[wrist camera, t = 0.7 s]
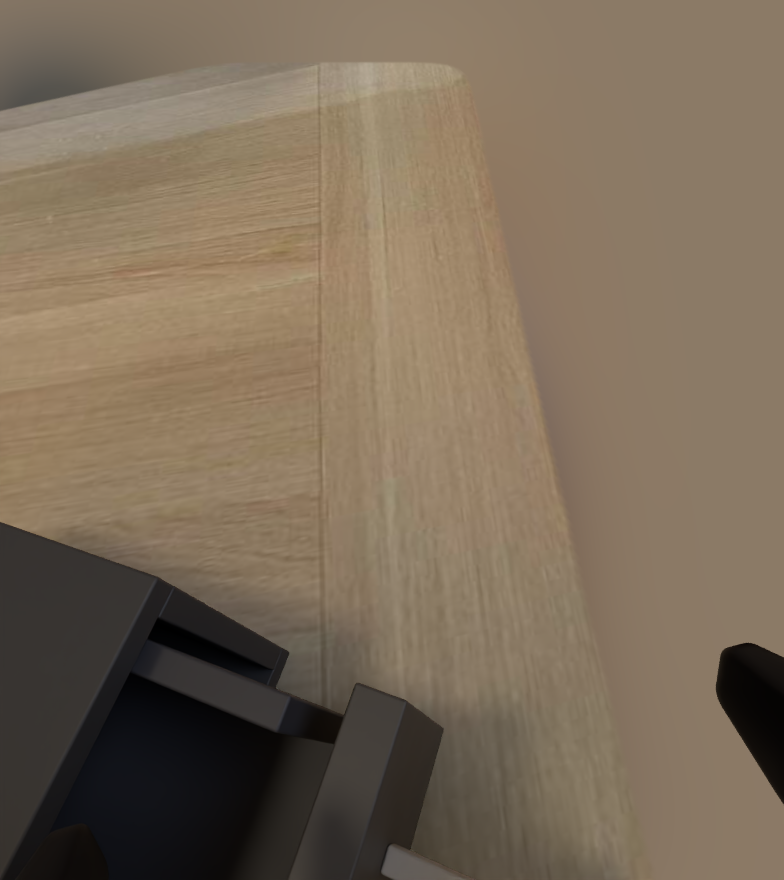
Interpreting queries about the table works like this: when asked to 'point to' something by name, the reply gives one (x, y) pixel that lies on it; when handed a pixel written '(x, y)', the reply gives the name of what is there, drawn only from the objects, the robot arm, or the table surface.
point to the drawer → (253, 780)
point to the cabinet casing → (84, 667)
